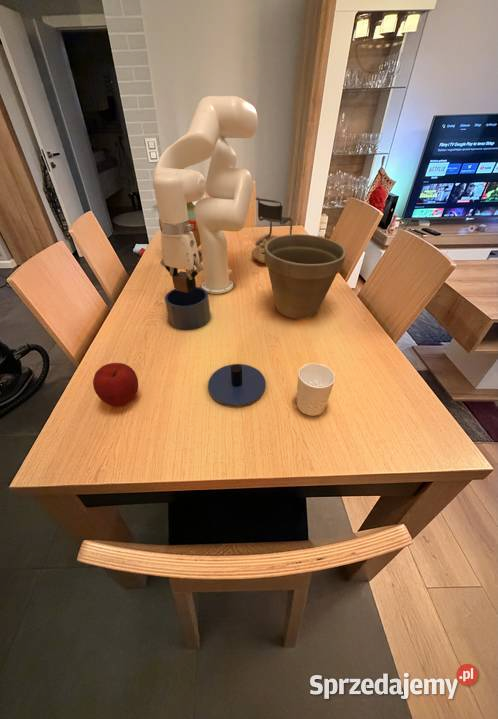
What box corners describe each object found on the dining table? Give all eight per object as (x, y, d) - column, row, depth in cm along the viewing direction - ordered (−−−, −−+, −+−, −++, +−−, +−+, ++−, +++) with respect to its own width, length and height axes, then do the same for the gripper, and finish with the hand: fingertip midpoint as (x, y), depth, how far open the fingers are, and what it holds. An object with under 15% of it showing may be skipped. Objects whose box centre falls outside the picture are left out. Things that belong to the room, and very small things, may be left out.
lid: (224, 361, 84) (222, 343, 80) (273, 375, 80) (274, 357, 76) (198, 397, 74) (194, 379, 70) (252, 415, 70) (252, 396, 65)
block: (182, 284, 96) (180, 270, 93) (195, 286, 95) (193, 273, 92) (175, 290, 93) (172, 276, 90) (187, 293, 92) (185, 279, 89)
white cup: (291, 394, 75) (295, 364, 68) (322, 391, 75) (329, 362, 69) (297, 419, 69) (302, 389, 62) (331, 416, 69) (339, 386, 63)
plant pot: (349, 314, 102) (364, 252, 88) (291, 337, 93) (298, 270, 79) (302, 286, 119) (309, 229, 105) (249, 302, 109) (249, 242, 95)
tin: (183, 305, 108) (180, 283, 102) (217, 312, 104) (215, 290, 98) (161, 324, 98) (156, 301, 93) (197, 333, 94) (194, 310, 89)
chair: (254, 245, 153) (254, 197, 139) (270, 235, 165) (271, 190, 150) (276, 249, 148) (279, 200, 134) (291, 239, 159) (295, 193, 145)
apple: (121, 421, 69) (107, 391, 62) (94, 404, 72) (78, 374, 66) (151, 395, 75) (141, 365, 68) (124, 381, 78) (113, 351, 72)
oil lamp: (253, 268, 132) (254, 250, 127) (250, 255, 143) (250, 238, 138) (278, 267, 133) (279, 249, 127) (272, 254, 144) (273, 237, 139)
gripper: (209, 226, 82) (214, 287, 94) (158, 220, 87) (169, 278, 99) (195, 235, 77) (202, 298, 89) (141, 227, 82) (155, 288, 94)
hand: (185, 287), depth 94 cm, fingers closed on block, 4 cm apart
